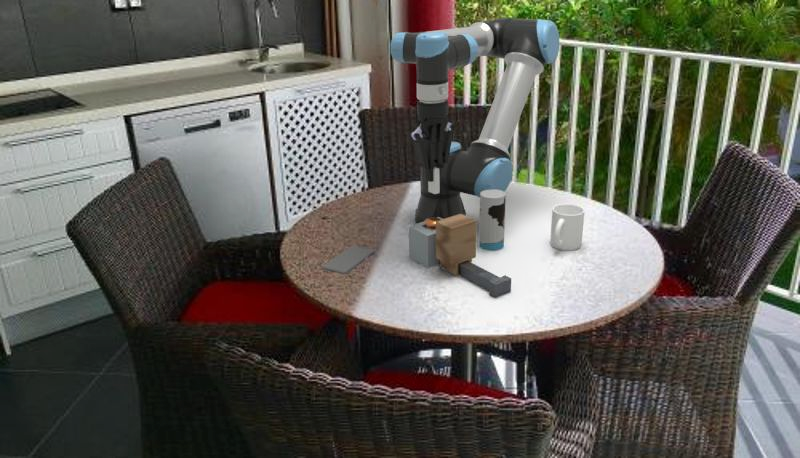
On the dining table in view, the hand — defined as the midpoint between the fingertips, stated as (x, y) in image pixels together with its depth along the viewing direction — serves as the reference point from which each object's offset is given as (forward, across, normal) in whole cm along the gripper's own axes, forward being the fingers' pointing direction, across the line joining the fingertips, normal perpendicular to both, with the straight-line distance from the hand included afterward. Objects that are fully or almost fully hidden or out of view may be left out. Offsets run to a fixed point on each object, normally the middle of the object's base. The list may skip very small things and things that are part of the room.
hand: (434, 192), depth 172 cm
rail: (+18, -1, -15) cm, 24 cm away
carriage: (+18, -1, -9) cm, 20 cm away
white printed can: (+19, +16, -4) cm, 25 cm away
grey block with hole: (+18, -1, 0) cm, 18 cm away
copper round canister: (+15, -1, 0) cm, 15 cm away
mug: (+19, +30, -17) cm, 40 cm away
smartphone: (+19, -19, +13) cm, 29 cm away
